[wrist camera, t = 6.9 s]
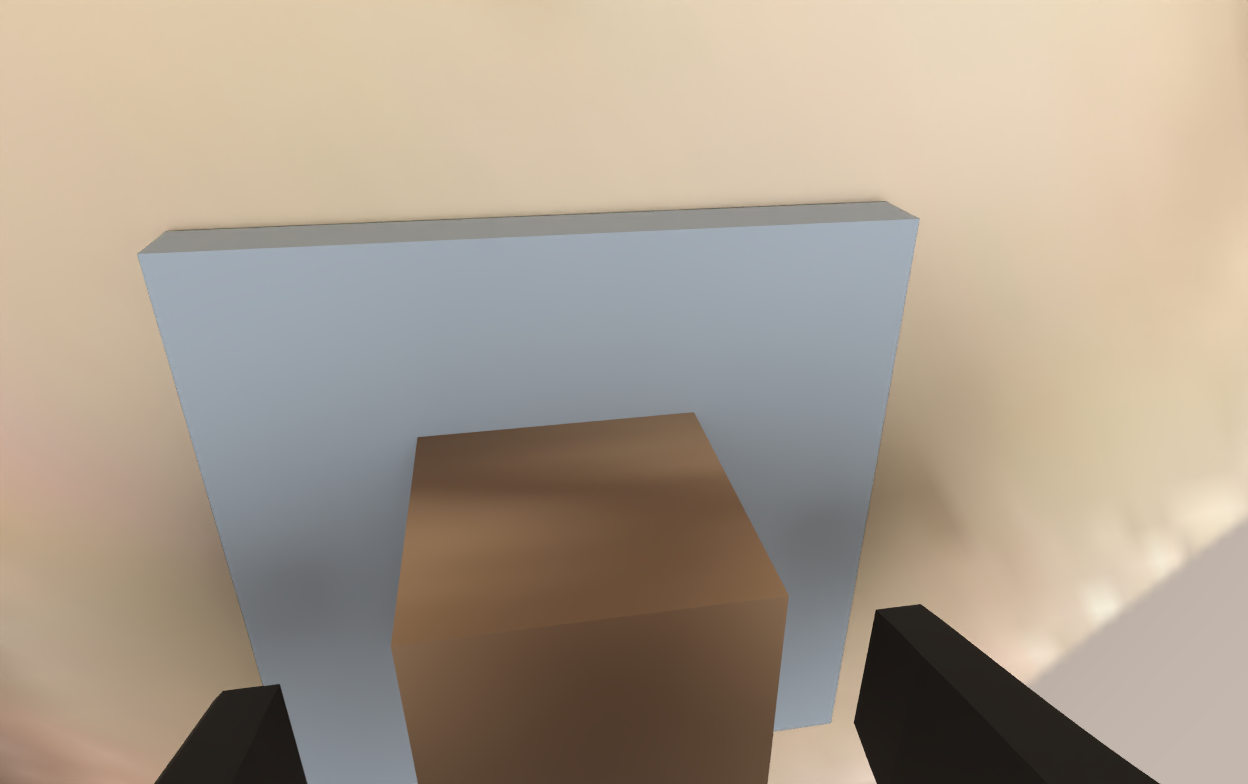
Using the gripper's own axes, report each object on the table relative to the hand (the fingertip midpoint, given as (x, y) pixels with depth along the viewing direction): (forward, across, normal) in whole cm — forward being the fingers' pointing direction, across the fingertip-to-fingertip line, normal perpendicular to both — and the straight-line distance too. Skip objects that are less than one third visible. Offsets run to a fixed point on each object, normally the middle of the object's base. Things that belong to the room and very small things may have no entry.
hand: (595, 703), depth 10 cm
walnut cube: (+3, 0, 0) cm, 3 cm away
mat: (+4, 0, 0) cm, 4 cm away
